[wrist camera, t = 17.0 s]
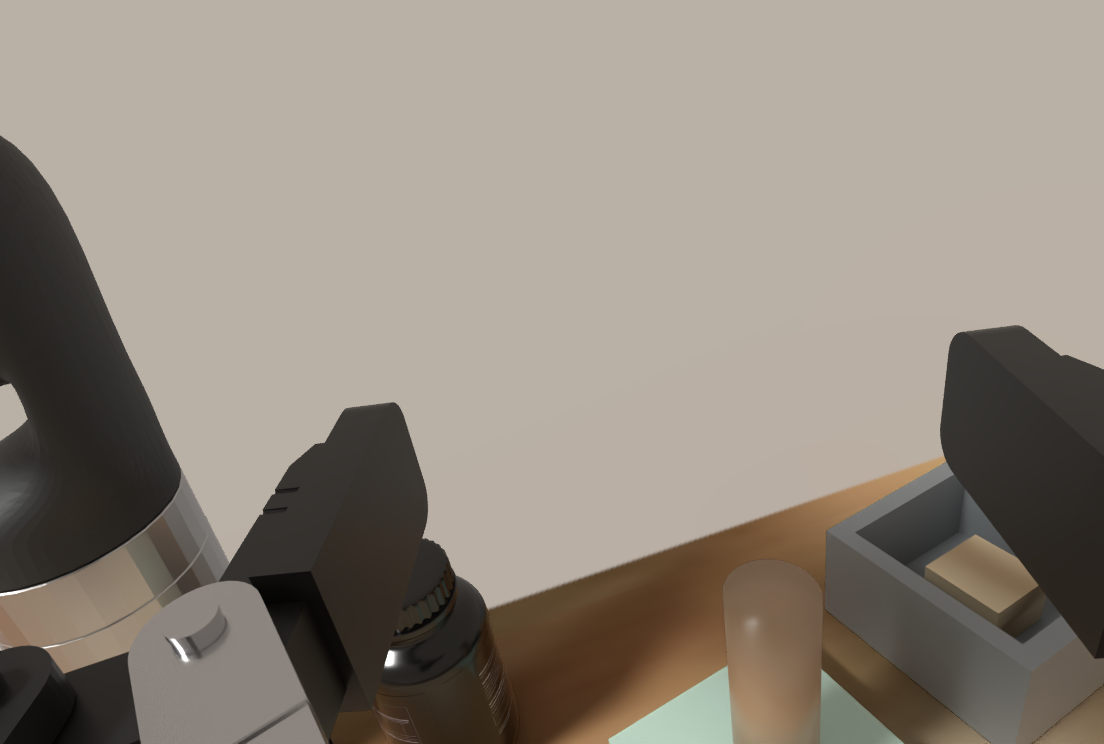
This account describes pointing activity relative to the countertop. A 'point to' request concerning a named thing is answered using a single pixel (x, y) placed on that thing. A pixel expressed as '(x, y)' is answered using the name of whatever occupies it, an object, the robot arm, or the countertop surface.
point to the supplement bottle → (444, 664)
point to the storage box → (951, 615)
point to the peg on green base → (765, 674)
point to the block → (989, 584)
